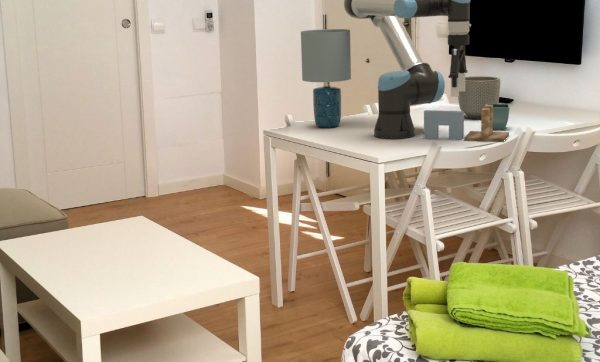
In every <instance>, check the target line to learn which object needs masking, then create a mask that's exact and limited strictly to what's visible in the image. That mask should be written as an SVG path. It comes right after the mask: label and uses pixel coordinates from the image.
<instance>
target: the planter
mask: <svg viewBox="0 0 600 362" xmlns="http://www.w3.org/2000/svg"><path fill="white" fill-rule="evenodd" d="M500 91H501V78H500V77H497V76H489V75H472V76H471V75H469V76H465V91H459V97H457V98H458V99H457V100H458V106H459V110H460V111H464V115H466V117H467V118H468V119H471V120H472V119H473V120H481V110H482V109H483V108H485V106H486V104H499V101H500Z"/></svg>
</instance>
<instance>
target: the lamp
mask: <svg viewBox="0 0 600 362" xmlns="http://www.w3.org/2000/svg"><path fill="white" fill-rule="evenodd" d="M300 47H301V49H300V51H301V53H300V54H301V77H302V78H301V79H302V81H303V82H307V83H323V86H319V87H315V88H313V89H312V99H313V100H312V102H313V106H312V107H313V117H314V122H315V125H316V126H317V127H318V128H321V129H322V128H323V129H326V128H327V129H330V128H336V127H338V126H339V125H341V118H342V89H341V88H340V87H337V86H331V83H335V82H338V83H339V82H345V81H346V82H347V81H349V80H351V79H352V58H351V57H352V55H351V30H350V29H346V28H345V29H344V28H343V29H341V28H330V29H329V28H325V29H321V28H320V29H309V30H308V29H307V30H301V31H300Z"/></svg>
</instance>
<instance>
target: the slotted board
mask: <svg viewBox="0 0 600 362" xmlns="http://www.w3.org/2000/svg"><path fill="white" fill-rule="evenodd" d="M464 119H465V113H464V111H461V110H435V109H433V110H428V109H427V110H424V111H423V139H424V138H425V139H428V140H429V139H430V140H438V139H439V138H440V137H439V136H440V134H439V132H440V131H439V129H440V128H439V126H444V127H445V126H446V127H448V140H454V139H459V140H461V141H462V140H464V137H465V135H464V133H465V132H464V131H465V130H464V129H465V128H464V127H465V121H464ZM459 140H458V141H459Z"/></svg>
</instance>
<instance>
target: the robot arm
mask: <svg viewBox="0 0 600 362" xmlns="http://www.w3.org/2000/svg"><path fill="white" fill-rule="evenodd" d="M470 6H471V0H343V7H344V10H345V12H346V14H347V15H348V16H349V17H351V18H354V19H357V20H358V19H362V20H363V19H370V20H371V22H372V24H373V26H374V27H376V28H379V29H380V32H381V33H382V35H383V37H384V39H385V41H386V43H387V45H388V46H389V49H390V50H391V52H392V55H393V56H394V58H395V60H396V62H397V64H398V66H399V68H400V70H397V71H395V70H394V71H389V72H385V73H383V74H381V75H380V76H379V77H378V82H377V83H378V84H377V89H378V91H377V93H378V94H377V95H378V101H377V102H378V103H377V104H378V105H377V106H378V115H377V119H376V122H375V126H374V128H373V129H374V130H373V136H374V137H376V138H380V139H390V140H391V139H393V140H394V139H396V140H397V139H406V138H411V137H415V135H416V128H415V125H414V123H413V119H412V117H411V106H417V105H423V104H424V105H425V104H428V105H430V104H432V103H436V102H439V101H440V100H441V99H442V98H443V96H444V94H445V93H444V92H445V87H446V84H445V83H446V82H445V79H444V78H445V77H444V75H443V74H442V73H441V71H437V70H433V69H432V67H431V66H430V64H429V63H428V62H425V61H423V59H422V57H421V55H420V54H419V52H418V49H417V48H416V46H415V44H414V41H413V40H412V39H411V36H410V35H409V33H408V31H407V29H406V27H405V26H404V23H403V22H402V20H401V19H411V18H425V17H427V18H428V17H447V33H448V34H447V45H448V46H453V48H451V56H450V57H451V58H450V67H449V68H450V69H449V75H448V79H450V97H452V98H453V97H454V98H455V97H456V98H458V97H459V91H465V77H466V74H468V71H469V70H467V64H466V63H467V61H466V46H468V45H470V34H469V32H470V28H471V26H472V24H471V23H470V17H471V16H470V13H471V12H470V11H471V9H470V8H471V7H470Z"/></svg>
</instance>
